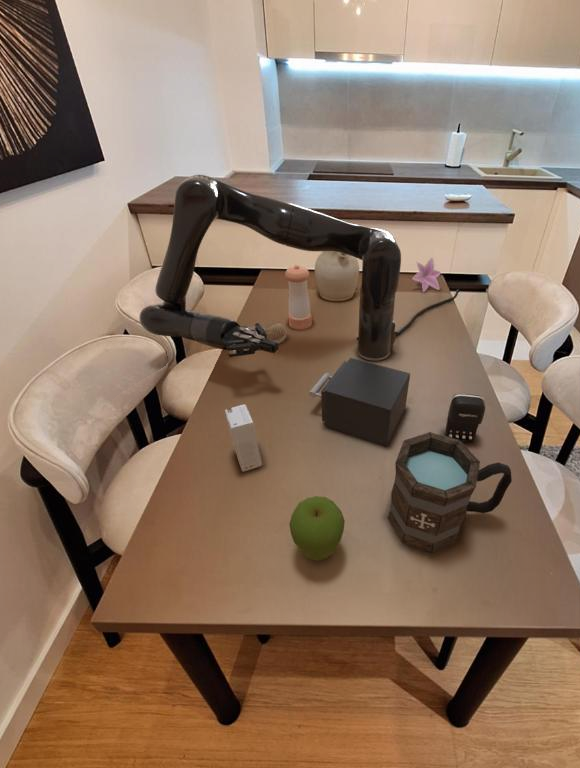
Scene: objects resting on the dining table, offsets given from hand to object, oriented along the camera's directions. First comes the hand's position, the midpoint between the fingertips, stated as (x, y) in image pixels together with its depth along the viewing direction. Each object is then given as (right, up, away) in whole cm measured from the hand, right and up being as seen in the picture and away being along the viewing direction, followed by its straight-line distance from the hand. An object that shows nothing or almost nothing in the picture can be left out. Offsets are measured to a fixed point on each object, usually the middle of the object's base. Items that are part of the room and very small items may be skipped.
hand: (276, 347), depth 92 cm
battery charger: (+41, -21, -3) cm, 46 cm away
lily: (+45, +28, +59) cm, 79 cm away
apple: (+12, -36, -25) cm, 45 cm away
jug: (+12, +24, +53) cm, 59 cm away
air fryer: (+21, -16, +1) cm, 26 cm away
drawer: (+17, -15, +2) cm, 22 cm away
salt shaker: (+1, +11, +35) cm, 37 cm away
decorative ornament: (-6, +4, +27) cm, 28 cm away
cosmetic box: (-4, -24, -9) cm, 26 cm away
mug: (+34, -33, -19) cm, 51 cm away
